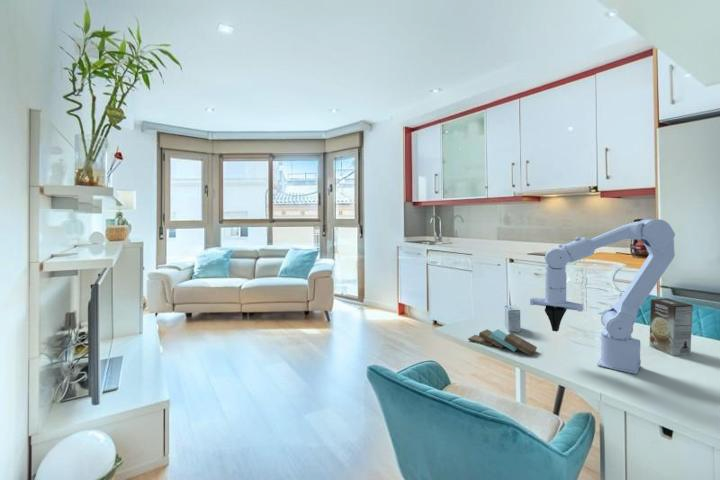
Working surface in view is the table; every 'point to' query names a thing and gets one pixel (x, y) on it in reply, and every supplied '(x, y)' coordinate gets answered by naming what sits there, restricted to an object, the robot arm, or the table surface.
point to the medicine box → (512, 318)
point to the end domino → (480, 340)
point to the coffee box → (671, 326)
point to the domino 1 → (486, 336)
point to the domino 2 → (502, 339)
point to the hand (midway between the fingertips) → (555, 330)
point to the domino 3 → (520, 344)
